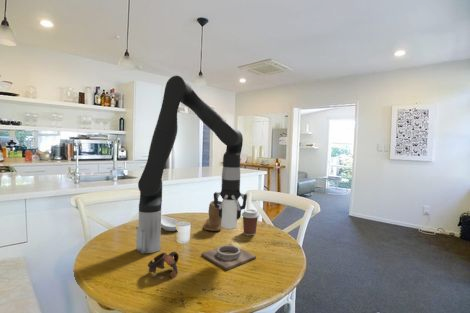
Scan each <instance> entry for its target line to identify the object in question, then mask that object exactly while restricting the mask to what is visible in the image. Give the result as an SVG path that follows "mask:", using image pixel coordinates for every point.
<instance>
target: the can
mask: <svg viewBox="0 0 470 313" xmlns="http://www.w3.org/2000/svg"><path fill="white" fill-rule="evenodd" d="M222 201H223V200H222ZM238 201H239V200H238ZM238 201H237V202H238ZM237 210H238V209H237V205H236V202H235V200H228V199H224V201H223V204H222V229H225V230H235V229H237V227H238V219H237Z"/></svg>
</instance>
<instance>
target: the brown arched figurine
mask: <svg viewBox="0 0 470 313" xmlns="http://www.w3.org/2000/svg"><path fill="white" fill-rule="evenodd" d="M178 262H179V254H178V252H176V251H172V252H170V253H169V254H167V253H166V252H161V253H159V254H158V255H157V256H155V257H154V258H153V260H150V261H149V262H148V264H147V267H148V272H149V273H154V274H156V271H157V268H158V269H161V270H164V269H165V263H166V264H167V265H168V266H170V267H171V268H172V270H171V272H170V273H169V275H170V277H171V279H172V280H173V279H175V278H176V276H177V275H178V273H179V271H178V265H177V263H178Z"/></svg>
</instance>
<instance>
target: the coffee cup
mask: <svg viewBox="0 0 470 313" xmlns="http://www.w3.org/2000/svg"><path fill="white" fill-rule="evenodd" d="M259 216H260V213H259V212H258V211H257V210H255V209H243V212H241V217H242V223H243V227H242V228H243V235H246V236H248V235H253V236H255V235H256V234H257V226H258V218H259Z"/></svg>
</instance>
